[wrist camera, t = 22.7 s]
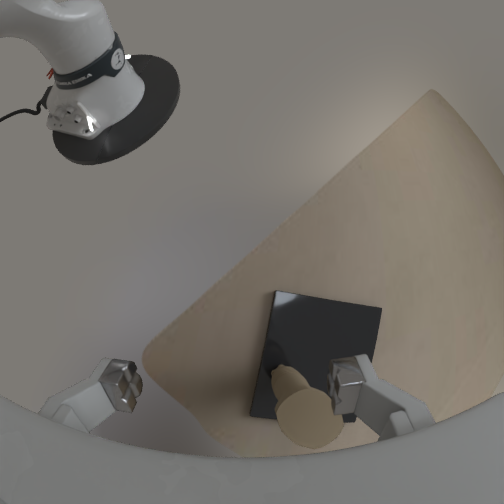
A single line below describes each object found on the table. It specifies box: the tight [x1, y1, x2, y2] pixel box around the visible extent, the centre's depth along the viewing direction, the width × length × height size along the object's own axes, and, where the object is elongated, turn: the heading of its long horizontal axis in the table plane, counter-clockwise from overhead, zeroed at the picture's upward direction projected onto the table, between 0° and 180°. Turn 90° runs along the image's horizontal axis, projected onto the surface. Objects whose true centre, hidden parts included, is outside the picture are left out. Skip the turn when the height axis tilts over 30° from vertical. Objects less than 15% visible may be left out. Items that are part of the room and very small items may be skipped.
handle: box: [271, 364, 344, 449], centre depth 26 cm, size 5×6×15 cm
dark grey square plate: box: [250, 290, 382, 422], centre depth 35 cm, size 16×18×1 cm
